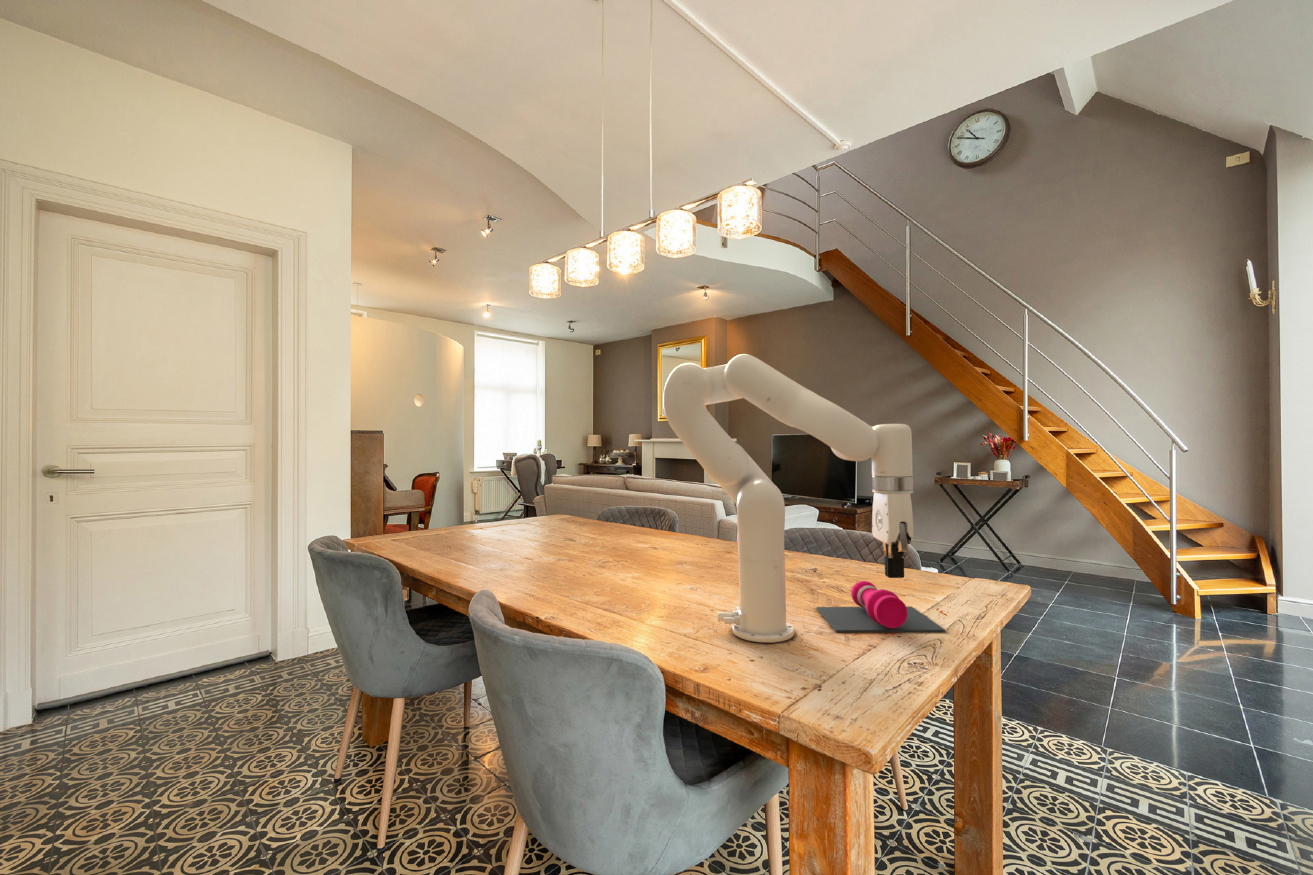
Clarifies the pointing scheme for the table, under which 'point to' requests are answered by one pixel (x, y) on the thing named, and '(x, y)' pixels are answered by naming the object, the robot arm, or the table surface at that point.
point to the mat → (861, 621)
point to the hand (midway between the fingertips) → (894, 576)
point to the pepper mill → (880, 604)
